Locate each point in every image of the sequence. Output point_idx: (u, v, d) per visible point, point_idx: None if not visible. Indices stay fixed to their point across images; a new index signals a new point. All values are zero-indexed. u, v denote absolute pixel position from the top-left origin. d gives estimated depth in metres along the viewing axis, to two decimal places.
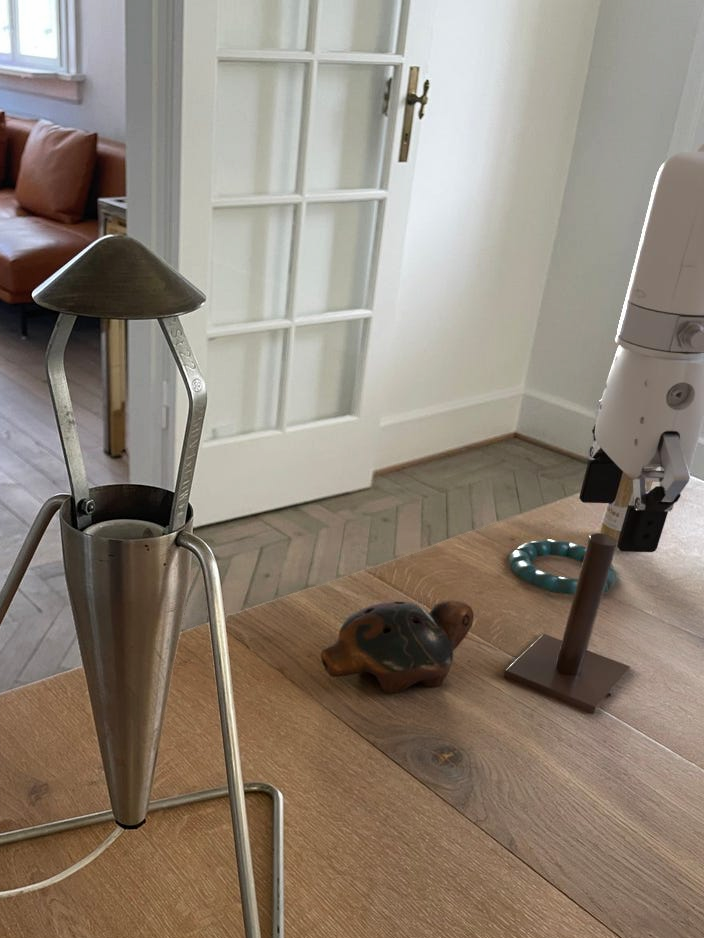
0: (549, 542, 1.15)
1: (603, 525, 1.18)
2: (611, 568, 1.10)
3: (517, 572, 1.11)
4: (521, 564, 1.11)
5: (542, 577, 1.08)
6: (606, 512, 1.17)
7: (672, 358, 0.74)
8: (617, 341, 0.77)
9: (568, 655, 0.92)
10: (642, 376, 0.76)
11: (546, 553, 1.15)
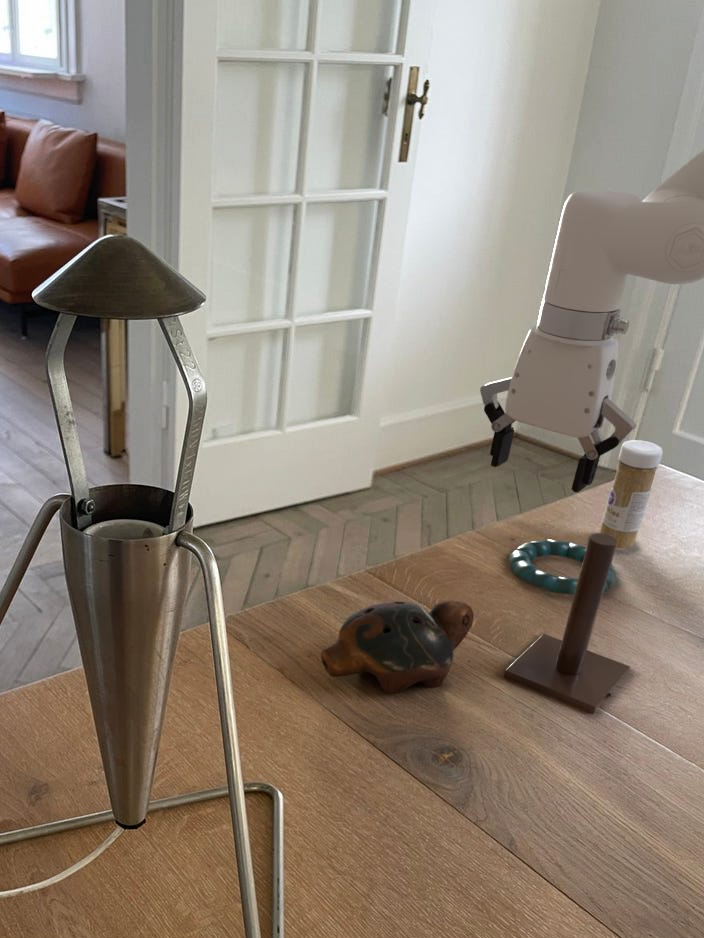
0: (549, 542, 1.15)
1: (603, 525, 1.18)
2: (611, 568, 1.10)
3: (517, 572, 1.11)
4: (521, 564, 1.11)
5: (542, 577, 1.08)
6: (606, 512, 1.17)
7: (603, 344, 0.98)
8: (555, 339, 0.98)
9: (568, 655, 0.92)
10: (583, 361, 0.99)
11: (546, 553, 1.15)
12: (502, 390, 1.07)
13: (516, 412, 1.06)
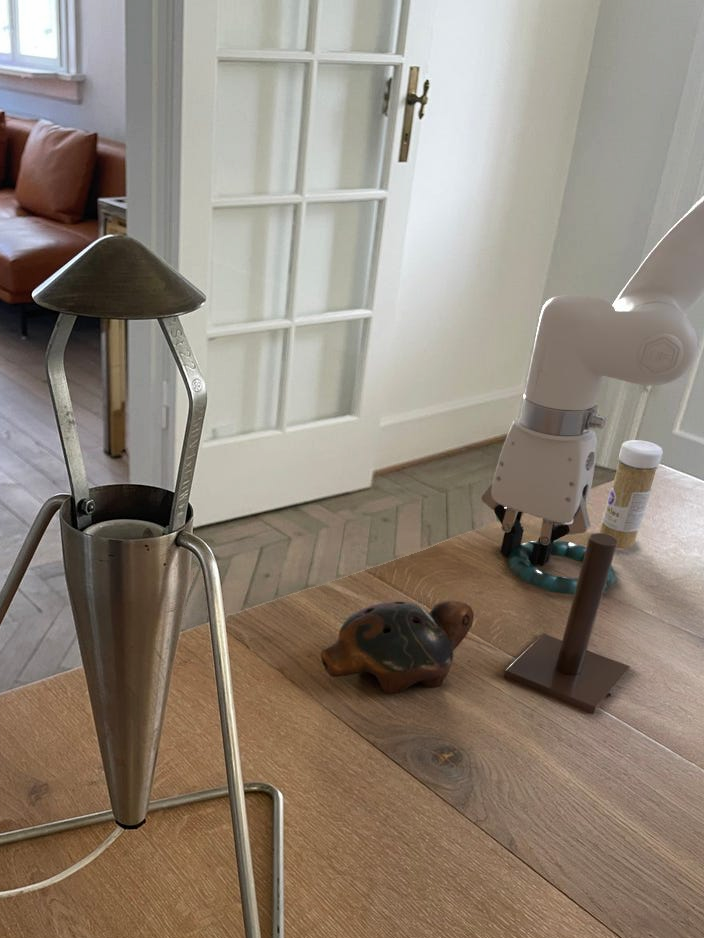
0: None
1: (603, 525, 1.18)
2: (610, 568, 1.10)
3: (516, 572, 1.11)
4: (520, 564, 1.11)
5: (541, 577, 1.08)
6: (606, 512, 1.17)
7: (582, 438, 1.04)
8: (536, 434, 1.04)
9: (568, 655, 0.92)
10: (563, 454, 1.04)
11: None
12: None
13: (502, 498, 1.11)
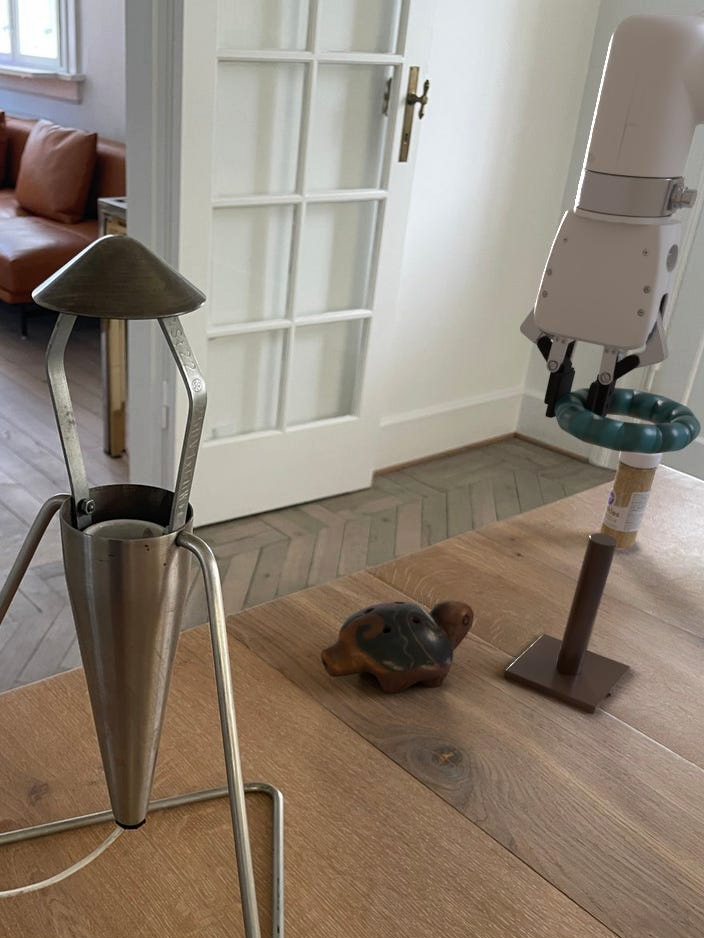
0: None
1: (603, 525, 1.18)
2: (693, 415, 0.82)
3: (567, 420, 0.83)
4: (572, 409, 0.83)
5: (602, 422, 0.80)
6: (606, 512, 1.17)
7: (662, 223, 0.76)
8: (599, 218, 0.76)
9: (568, 655, 0.92)
10: (637, 246, 0.76)
11: None
12: None
13: (548, 321, 0.83)
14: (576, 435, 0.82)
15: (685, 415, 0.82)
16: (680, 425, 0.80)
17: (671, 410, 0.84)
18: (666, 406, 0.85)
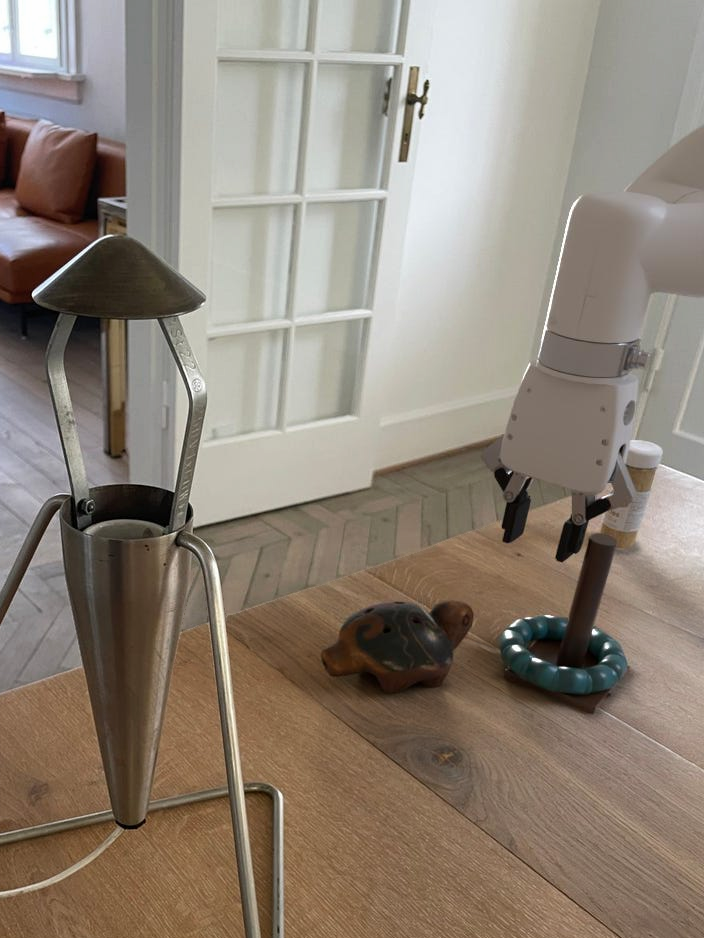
0: (546, 619, 0.97)
1: (603, 525, 1.18)
2: (621, 653, 0.92)
3: (509, 659, 0.92)
4: (514, 649, 0.92)
5: (539, 667, 0.90)
6: (606, 512, 1.17)
7: (619, 381, 0.79)
8: (559, 376, 0.80)
9: (568, 655, 0.92)
10: (595, 403, 0.80)
11: (542, 632, 0.97)
12: None
13: (513, 462, 0.87)
14: (517, 674, 0.92)
15: (614, 654, 0.92)
16: (608, 669, 0.90)
17: (602, 645, 0.94)
18: (598, 640, 0.95)
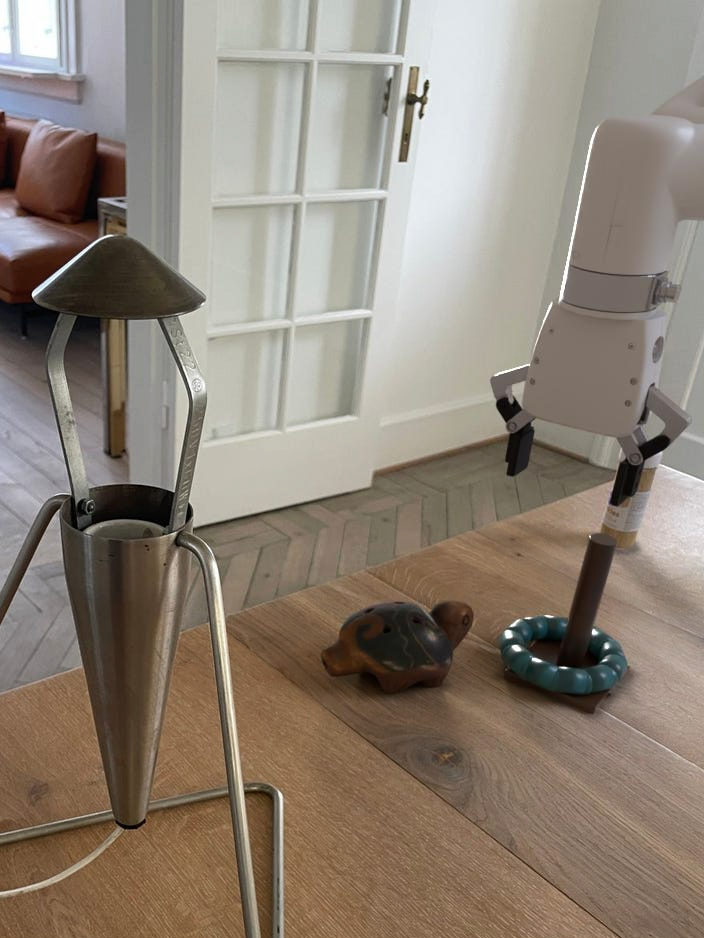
0: (546, 619, 0.97)
1: (603, 525, 1.18)
2: (621, 653, 0.92)
3: (509, 659, 0.92)
4: (514, 649, 0.92)
5: (539, 667, 0.90)
6: (606, 512, 1.17)
7: (647, 316, 0.76)
8: (584, 313, 0.76)
9: (568, 655, 0.92)
10: (622, 340, 0.77)
11: (542, 632, 0.97)
12: (518, 381, 0.85)
13: (537, 408, 0.84)
14: (517, 674, 0.92)
15: (614, 654, 0.92)
16: (608, 669, 0.90)
17: (602, 645, 0.94)
18: (598, 640, 0.95)
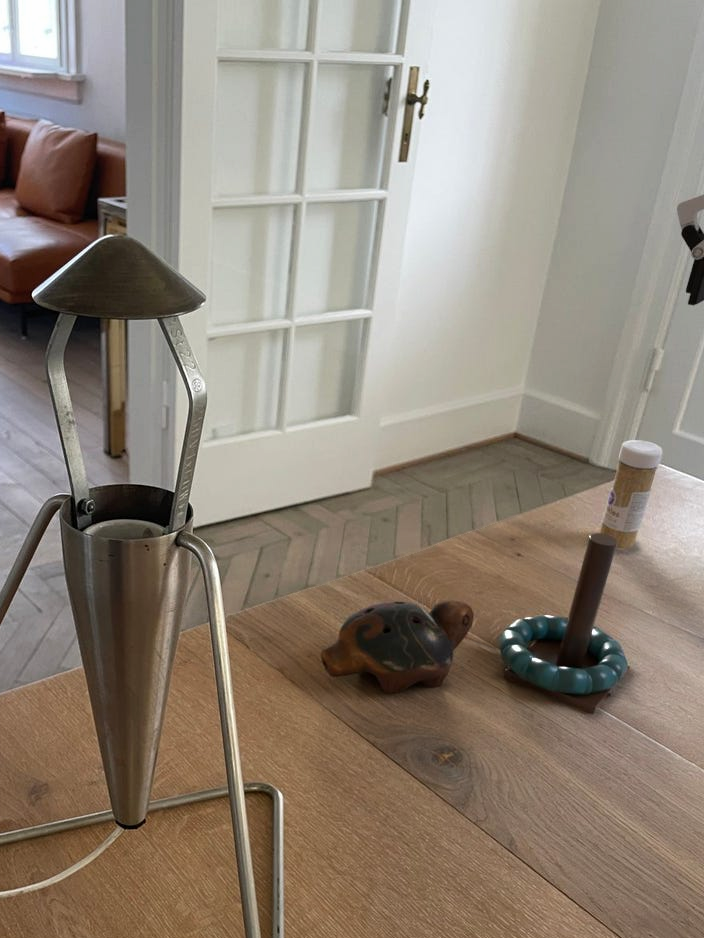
0: (546, 619, 0.97)
1: (603, 525, 1.18)
2: (621, 653, 0.92)
3: (509, 659, 0.92)
4: (514, 649, 0.92)
5: (539, 667, 0.90)
6: (606, 512, 1.17)
7: None
8: None
9: (568, 655, 0.92)
10: None
11: (542, 632, 0.97)
12: None
13: None
14: (517, 674, 0.92)
15: (614, 654, 0.92)
16: (608, 669, 0.90)
17: (602, 645, 0.94)
18: (598, 640, 0.95)
